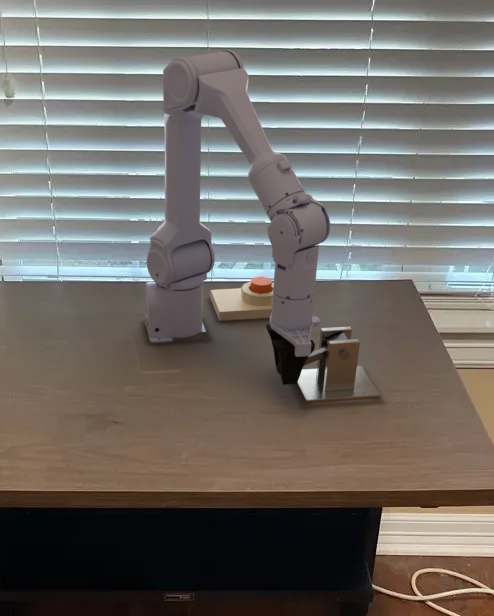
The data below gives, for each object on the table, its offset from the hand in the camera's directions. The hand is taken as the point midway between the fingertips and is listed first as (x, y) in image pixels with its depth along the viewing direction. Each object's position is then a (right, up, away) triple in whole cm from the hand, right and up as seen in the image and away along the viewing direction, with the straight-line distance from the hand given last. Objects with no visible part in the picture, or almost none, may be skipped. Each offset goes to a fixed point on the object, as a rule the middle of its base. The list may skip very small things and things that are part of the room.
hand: (286, 377), depth 135 cm
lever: (+4, +2, 0) cm, 5 cm away
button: (-2, +17, +23) cm, 29 cm away
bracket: (+7, -1, +2) cm, 8 cm away
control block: (-4, +15, +25) cm, 29 cm away
